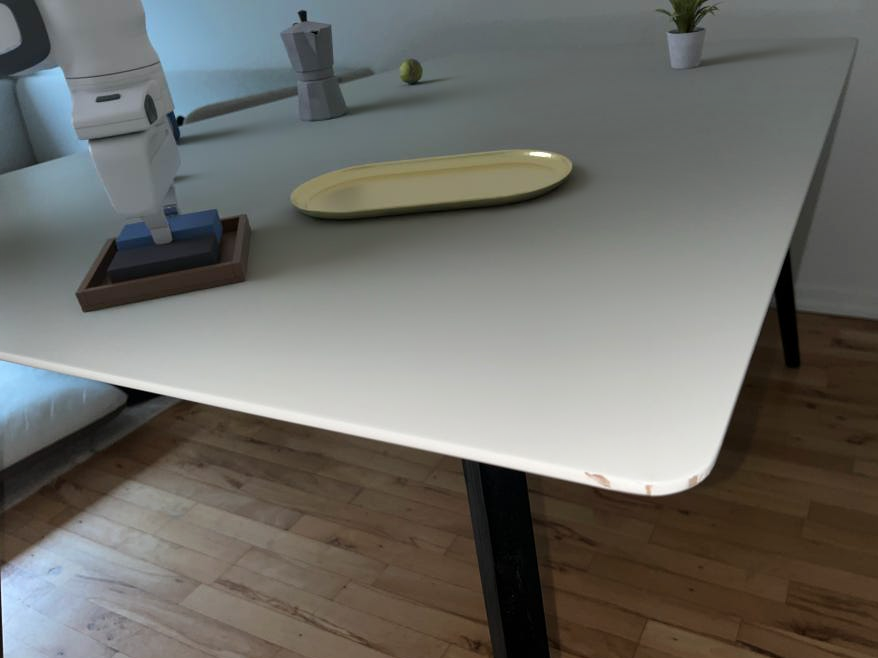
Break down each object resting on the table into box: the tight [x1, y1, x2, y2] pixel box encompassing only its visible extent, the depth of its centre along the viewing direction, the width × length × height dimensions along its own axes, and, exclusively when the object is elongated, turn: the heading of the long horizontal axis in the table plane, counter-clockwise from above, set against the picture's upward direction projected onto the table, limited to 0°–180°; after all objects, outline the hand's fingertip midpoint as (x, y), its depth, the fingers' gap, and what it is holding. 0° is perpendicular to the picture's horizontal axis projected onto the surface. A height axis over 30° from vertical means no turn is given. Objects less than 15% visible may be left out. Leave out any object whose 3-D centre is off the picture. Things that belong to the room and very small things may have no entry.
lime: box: [398, 58, 424, 85], centre depth 155 cm, size 4×5×5 cm
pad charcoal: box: [107, 234, 221, 284], centre depth 76 cm, size 10×6×2 cm, turn 103°
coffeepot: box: [279, 9, 348, 122], centre depth 135 cm, size 15×9×18 cm, turn 26°
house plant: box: [652, 0, 724, 70], centre depth 135 cm, size 14×14×16 cm
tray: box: [74, 213, 252, 313], centre depth 79 cm, size 16×16×2 cm
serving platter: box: [289, 148, 574, 220], centre depth 92 cm, size 19×35×2 cm, turn 88°
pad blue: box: [116, 208, 223, 251], centre depth 81 cm, size 10×6×2 cm, turn 103°
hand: (169, 231), depth 80 cm, fingers closed on pad blue, 5 cm apart
